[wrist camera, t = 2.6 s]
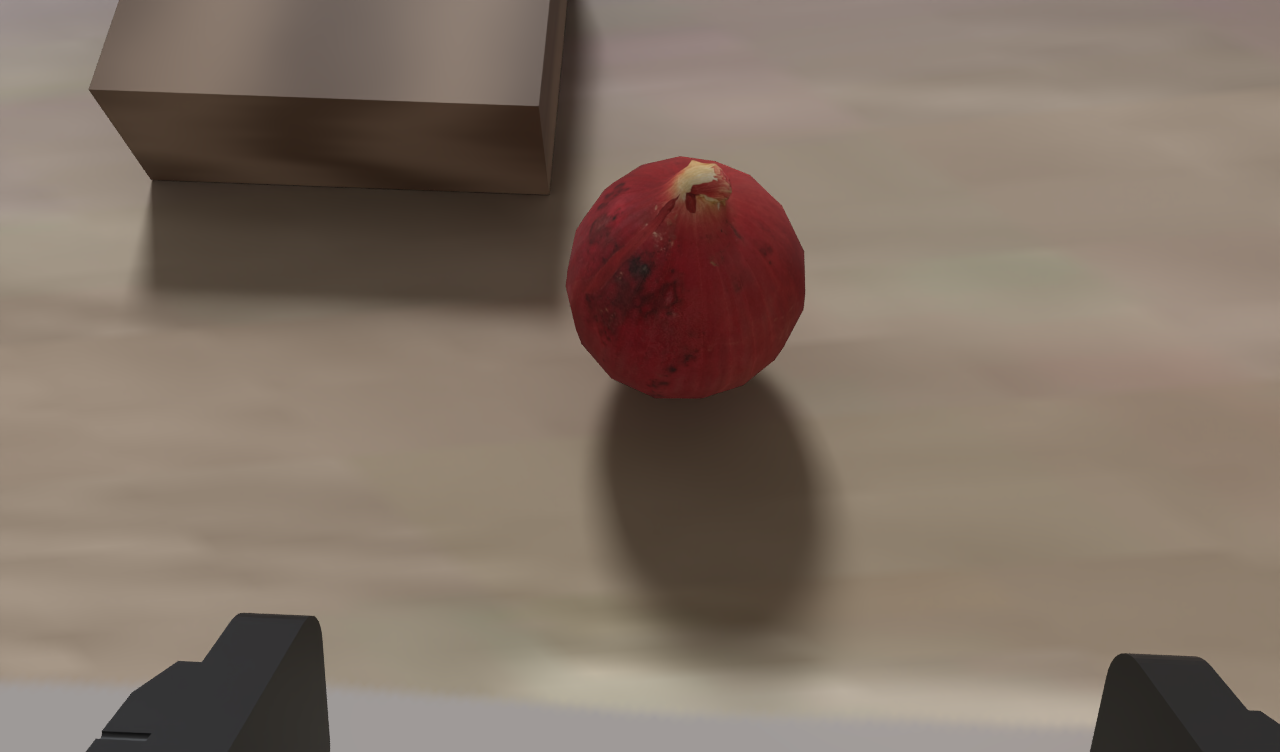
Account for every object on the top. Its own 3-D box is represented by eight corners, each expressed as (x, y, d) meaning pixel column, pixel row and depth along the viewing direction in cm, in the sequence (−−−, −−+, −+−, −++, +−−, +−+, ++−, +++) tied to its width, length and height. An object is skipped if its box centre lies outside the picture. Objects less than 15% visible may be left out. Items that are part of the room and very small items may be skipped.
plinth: (571, -48, 36) (565, -153, 32) (549, 194, 31) (538, 106, 28) (221, -61, 36) (175, -166, 32) (150, 179, 31) (88, 89, 28)
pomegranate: (666, 487, 27) (678, 349, 20) (532, 337, 29) (500, 161, 22) (825, 360, 29) (890, 190, 22) (689, 225, 31) (707, 28, 24)
